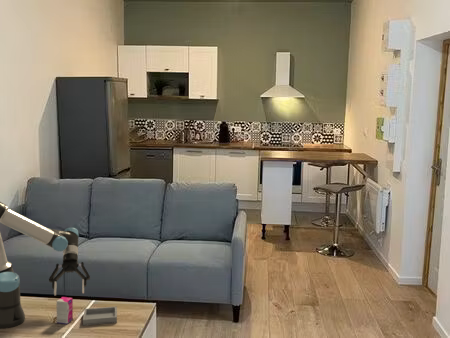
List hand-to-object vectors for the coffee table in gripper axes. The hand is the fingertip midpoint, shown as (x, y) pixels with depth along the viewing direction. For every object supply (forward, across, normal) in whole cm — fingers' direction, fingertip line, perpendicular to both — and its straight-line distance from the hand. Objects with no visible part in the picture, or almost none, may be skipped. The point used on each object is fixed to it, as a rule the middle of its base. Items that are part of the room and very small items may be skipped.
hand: (69, 293), depth 244 cm
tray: (+14, -15, -2) cm, 21 cm away
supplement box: (+14, +2, -2) cm, 14 cm away
